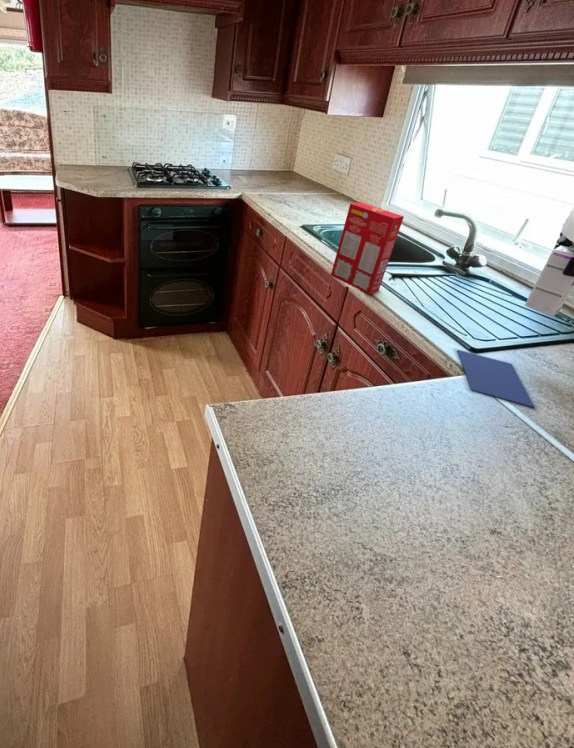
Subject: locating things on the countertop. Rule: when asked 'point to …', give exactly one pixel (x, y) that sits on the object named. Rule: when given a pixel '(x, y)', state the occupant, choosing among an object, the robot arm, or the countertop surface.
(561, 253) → the syrup box
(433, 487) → the countertop surface
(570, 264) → the robot arm
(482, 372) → the cloth
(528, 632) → the countertop surface
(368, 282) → the food packaging
